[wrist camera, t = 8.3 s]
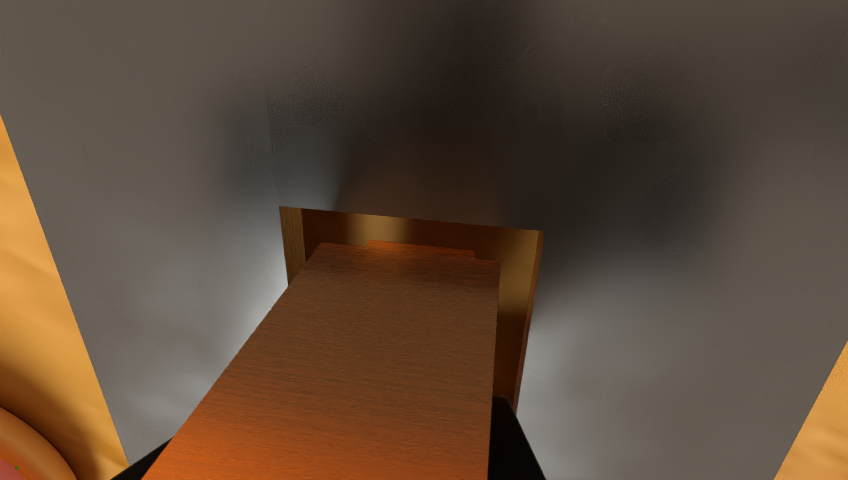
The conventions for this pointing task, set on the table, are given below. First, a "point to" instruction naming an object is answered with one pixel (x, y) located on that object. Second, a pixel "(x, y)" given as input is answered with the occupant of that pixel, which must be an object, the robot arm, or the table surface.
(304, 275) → the square wooden peg
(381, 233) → the table surface
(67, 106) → the slotted plate
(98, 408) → the table surface
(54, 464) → the doughnut
